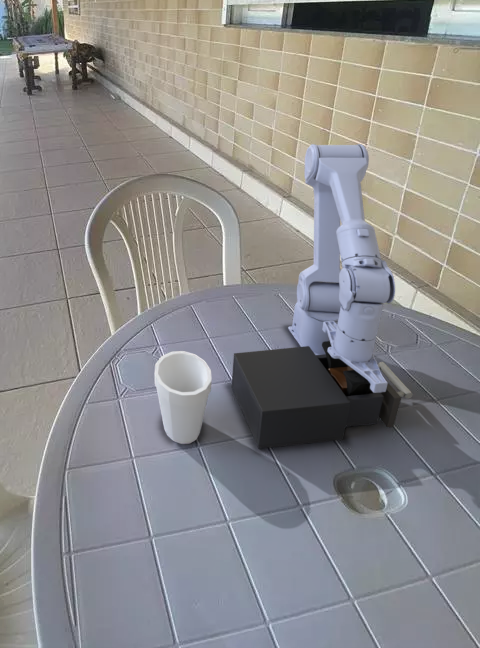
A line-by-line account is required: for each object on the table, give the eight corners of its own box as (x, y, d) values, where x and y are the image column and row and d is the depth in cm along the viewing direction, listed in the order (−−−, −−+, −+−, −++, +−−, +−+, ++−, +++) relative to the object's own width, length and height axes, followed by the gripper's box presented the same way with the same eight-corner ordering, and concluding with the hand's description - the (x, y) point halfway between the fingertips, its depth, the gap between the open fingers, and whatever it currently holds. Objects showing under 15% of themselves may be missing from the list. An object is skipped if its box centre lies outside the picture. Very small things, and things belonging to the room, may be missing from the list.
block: (324, 386, 78) (328, 368, 77) (347, 384, 79) (351, 366, 77) (339, 406, 74) (342, 388, 73) (363, 404, 75) (367, 385, 73)
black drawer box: (303, 379, 83) (309, 345, 80) (342, 439, 71) (350, 402, 68) (231, 387, 83) (233, 353, 80) (258, 448, 71) (262, 411, 68)
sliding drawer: (372, 372, 83) (378, 345, 80) (417, 424, 72) (426, 395, 70) (284, 381, 82) (288, 354, 80) (316, 435, 72) (322, 406, 69)
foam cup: (213, 414, 77) (216, 360, 73) (203, 461, 70) (205, 402, 65) (163, 398, 81) (163, 345, 77) (148, 440, 74) (146, 384, 69)
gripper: (310, 303, 78) (302, 360, 83) (361, 364, 64) (348, 428, 69) (347, 300, 78) (337, 357, 83) (406, 359, 65) (389, 423, 69)
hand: (344, 389), depth 76 cm, fingers closed on block, 4 cm apart
